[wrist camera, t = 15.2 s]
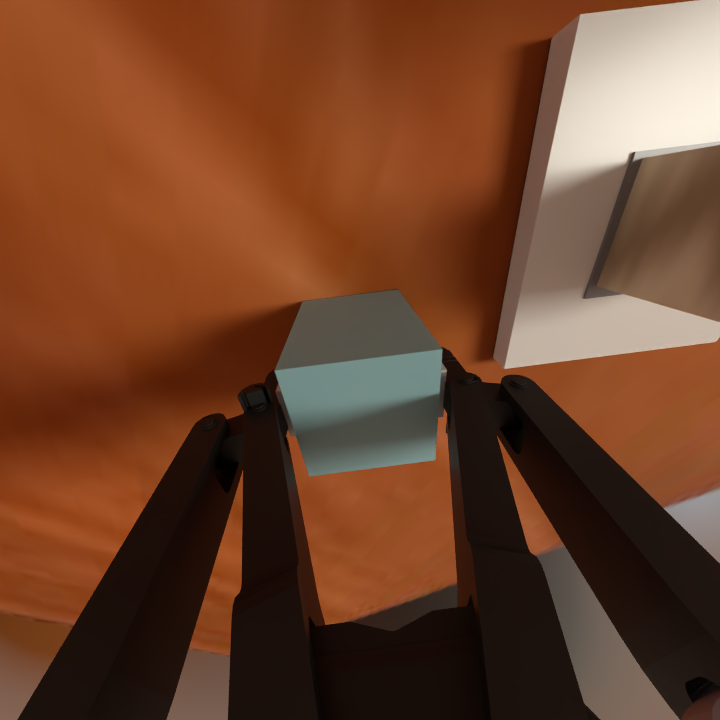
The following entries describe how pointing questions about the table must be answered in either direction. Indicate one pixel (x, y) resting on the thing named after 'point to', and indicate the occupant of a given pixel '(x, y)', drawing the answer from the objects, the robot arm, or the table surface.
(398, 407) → the teal block
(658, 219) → the maple block
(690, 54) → the base plate
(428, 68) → the table surface
